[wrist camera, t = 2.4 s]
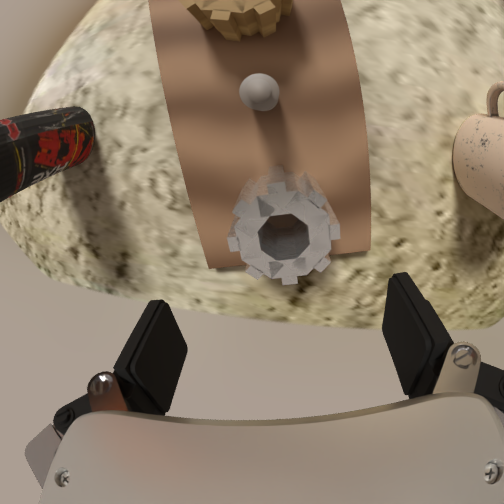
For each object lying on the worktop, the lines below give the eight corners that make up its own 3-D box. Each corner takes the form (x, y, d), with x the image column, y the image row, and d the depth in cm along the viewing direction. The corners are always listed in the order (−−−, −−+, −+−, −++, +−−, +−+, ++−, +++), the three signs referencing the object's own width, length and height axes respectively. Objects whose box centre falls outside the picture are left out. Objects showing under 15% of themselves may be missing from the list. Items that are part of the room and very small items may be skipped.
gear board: (153, -10, 13) (107, -42, 6) (320, -40, 11) (336, -88, 4) (212, 260, 25) (190, 317, 18) (365, 242, 23) (395, 295, 16)
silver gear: (229, 172, 20) (215, 192, 15) (322, 160, 19) (336, 175, 14) (246, 253, 23) (239, 289, 18) (329, 243, 22) (341, 278, 17)
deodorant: (68, 96, 18) (-66, 125, 5) (104, 125, 19) (-40, 173, 6) (46, 145, 20) (-70, 198, 7) (79, 176, 22) (-41, 250, 9)
